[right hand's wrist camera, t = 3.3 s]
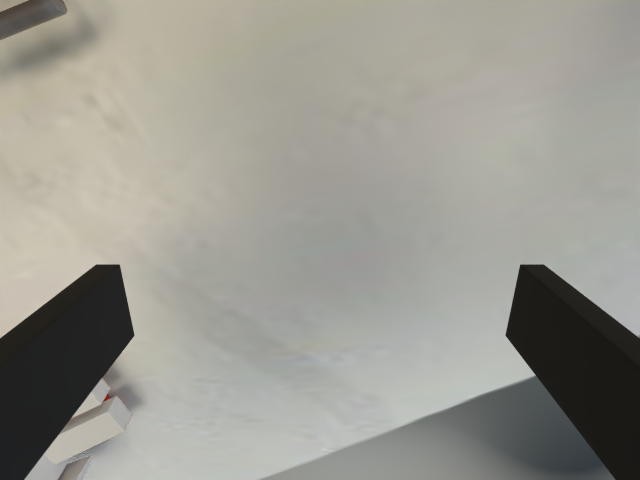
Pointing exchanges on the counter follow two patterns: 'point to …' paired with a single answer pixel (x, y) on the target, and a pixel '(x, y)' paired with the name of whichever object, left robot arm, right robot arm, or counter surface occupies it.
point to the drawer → (29, 15)
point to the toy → (82, 436)
